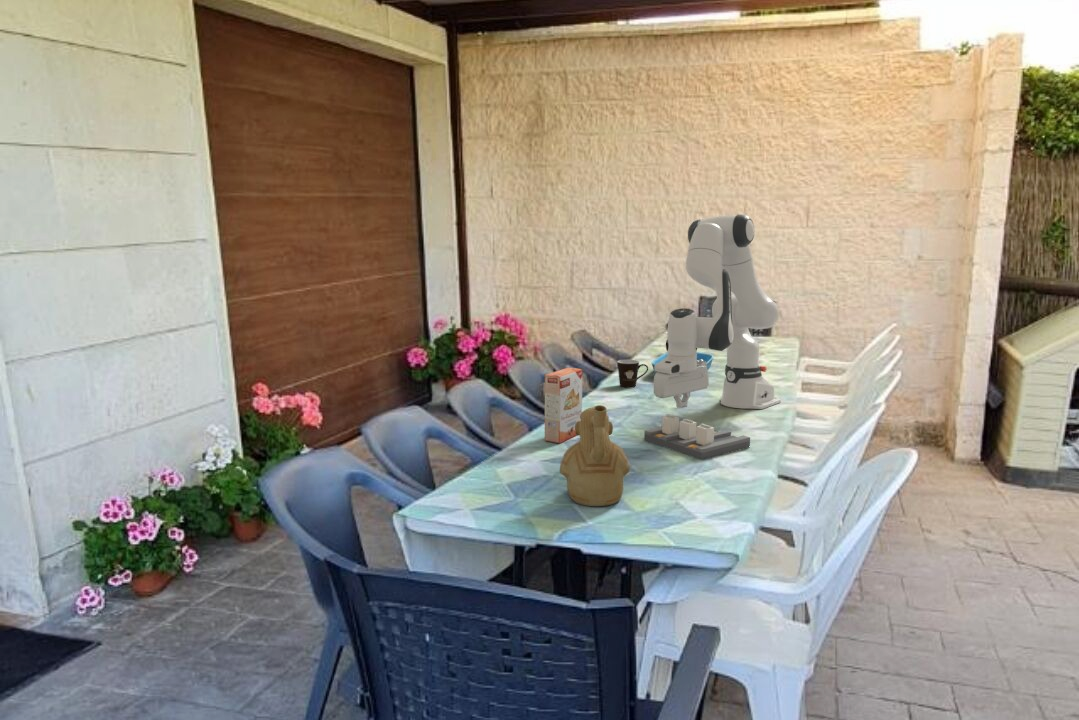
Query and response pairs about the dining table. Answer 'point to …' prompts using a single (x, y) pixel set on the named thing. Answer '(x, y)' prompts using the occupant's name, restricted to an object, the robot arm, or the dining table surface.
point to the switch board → (689, 446)
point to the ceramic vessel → (594, 461)
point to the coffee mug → (629, 372)
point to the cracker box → (562, 404)
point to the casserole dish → (705, 357)
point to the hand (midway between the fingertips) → (681, 407)
